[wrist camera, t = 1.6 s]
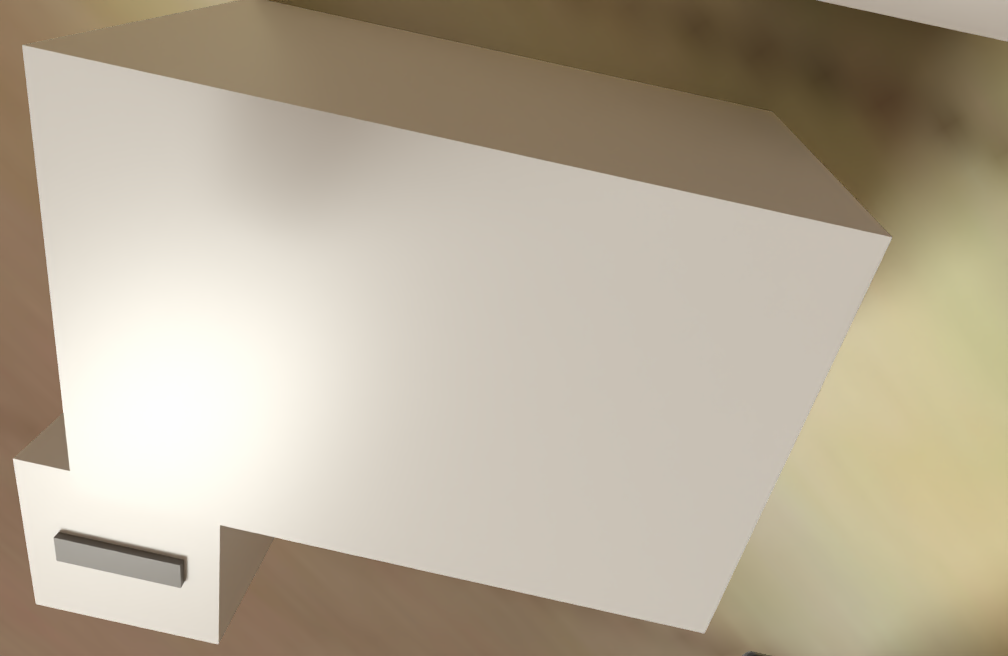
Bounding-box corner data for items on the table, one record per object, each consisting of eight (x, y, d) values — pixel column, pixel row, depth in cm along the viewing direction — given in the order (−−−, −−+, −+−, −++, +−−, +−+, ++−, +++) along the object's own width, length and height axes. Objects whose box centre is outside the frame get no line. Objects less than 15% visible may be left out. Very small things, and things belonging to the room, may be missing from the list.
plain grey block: (668, 397, 21) (704, 633, 14) (247, 303, 21) (72, 491, 14) (771, 110, 17) (892, 237, 10) (256, -4, 17) (22, 45, 10)
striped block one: (285, 516, 25) (215, 650, 20) (135, 483, 25) (31, 609, 20) (294, 384, 22) (216, 503, 18) (127, 347, 22) (5, 456, 18)
